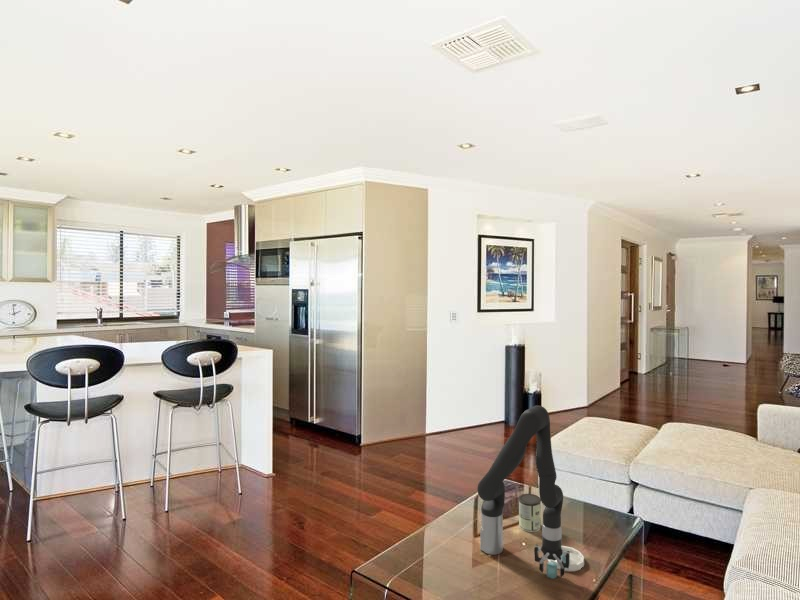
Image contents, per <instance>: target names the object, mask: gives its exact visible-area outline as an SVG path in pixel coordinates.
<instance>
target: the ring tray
mask: <svg viewBox="0 0 800 600" xmlns="http://www.w3.org/2000/svg"><path fill="white" fill-rule="evenodd" d="M562 550H563V551H569V552H570V564H569V568H564V572H578V571H580V570H582V569H583V568H584V566H585V556H584V555H583V553H581V551H580V550H578V549H576V548H574V547H572V546H565V545H562ZM546 560H547V563H549V562H552V563H555V564H556V565H557V570H559V571H560V568H561V567H560V565H559V564H558V563H557V561H554V560H549V559H548V558H546ZM582 567H583V568H582ZM581 568H582V569H581Z"/></svg>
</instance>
